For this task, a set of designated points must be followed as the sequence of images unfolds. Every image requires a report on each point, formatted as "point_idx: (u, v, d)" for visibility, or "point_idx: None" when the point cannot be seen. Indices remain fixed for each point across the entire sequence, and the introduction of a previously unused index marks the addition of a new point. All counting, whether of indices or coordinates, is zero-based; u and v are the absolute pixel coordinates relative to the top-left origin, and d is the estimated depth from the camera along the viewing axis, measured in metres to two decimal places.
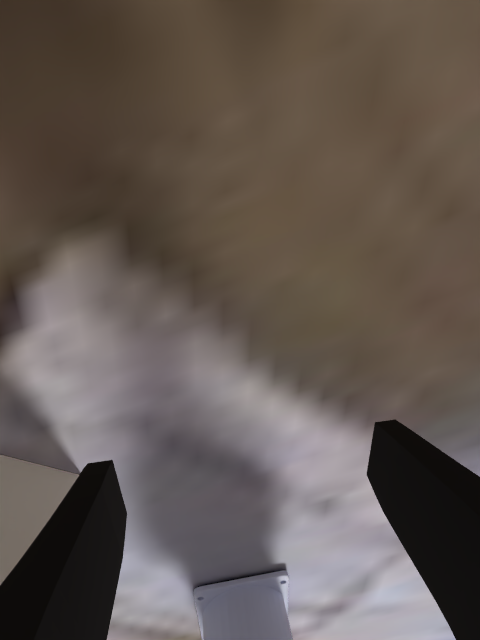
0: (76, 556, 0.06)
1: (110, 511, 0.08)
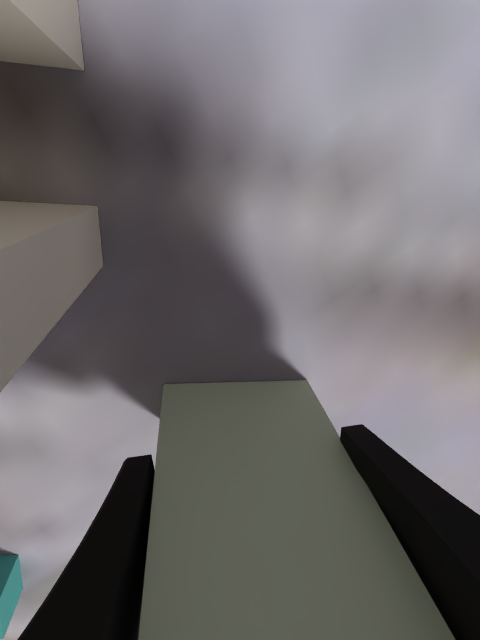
0: (130, 546, 0.06)
1: None
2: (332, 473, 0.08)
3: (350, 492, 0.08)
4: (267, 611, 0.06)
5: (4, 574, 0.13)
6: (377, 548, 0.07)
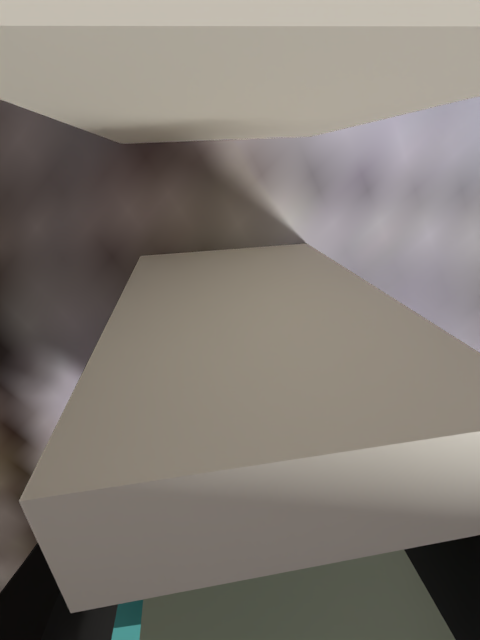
0: None
1: None
2: None
3: None
4: (262, 584, 0.06)
5: None
6: None
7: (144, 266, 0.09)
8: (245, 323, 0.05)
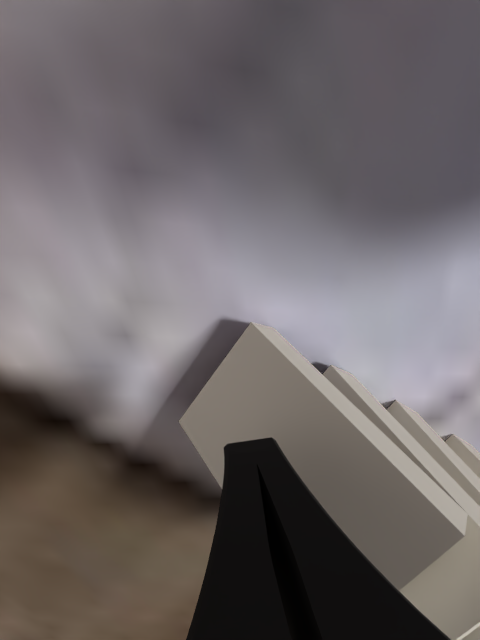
0: (264, 523, 0.07)
1: None
2: None
3: None
4: None
5: None
6: None
7: None
8: None
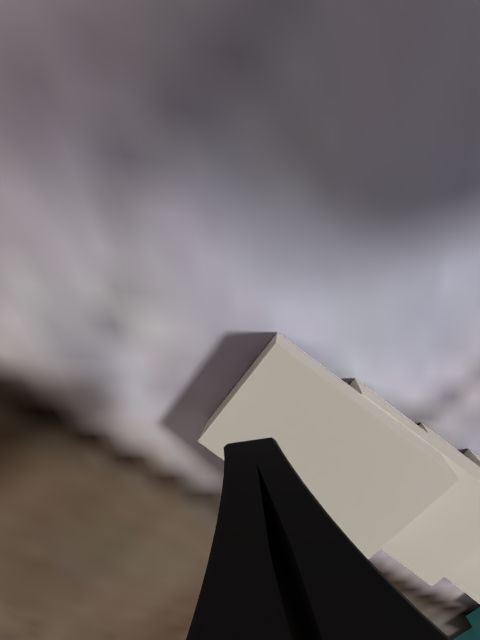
0: (264, 523, 0.07)
1: None
2: None
3: None
4: None
5: None
6: None
7: None
8: None
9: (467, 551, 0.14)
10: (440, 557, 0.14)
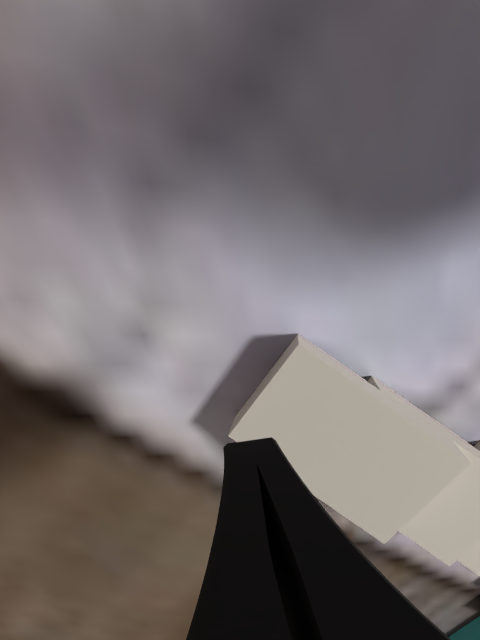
0: (264, 523, 0.07)
1: None
2: None
3: None
4: None
5: None
6: None
7: None
8: None
9: None
10: (456, 539, 0.15)
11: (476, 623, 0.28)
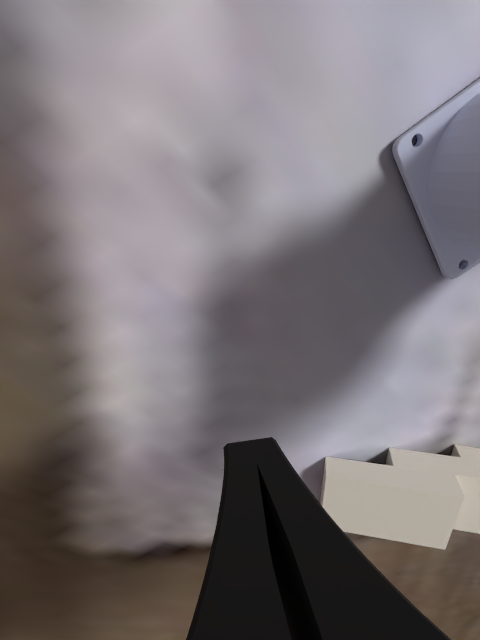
0: (264, 523, 0.07)
1: None
2: None
3: None
4: None
5: None
6: None
7: None
8: None
9: None
10: None
11: None
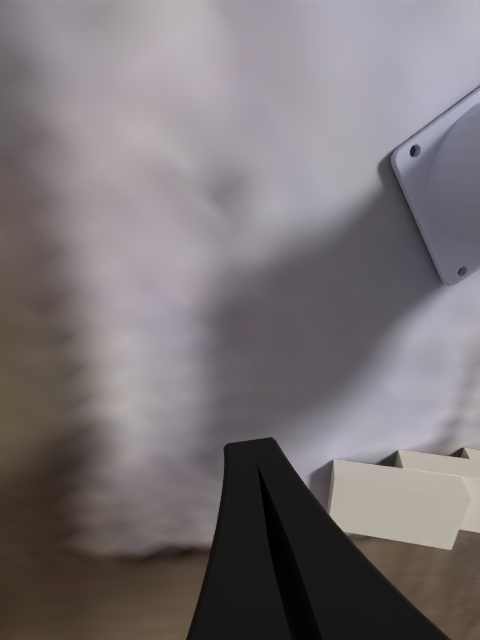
0: (264, 523, 0.07)
1: None
2: None
3: None
4: None
5: None
6: None
7: None
8: None
9: None
10: None
11: None
